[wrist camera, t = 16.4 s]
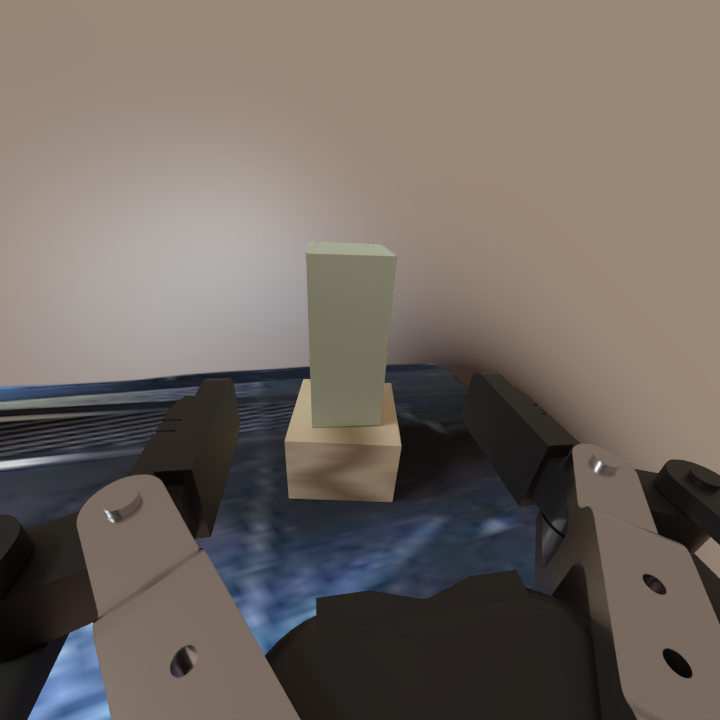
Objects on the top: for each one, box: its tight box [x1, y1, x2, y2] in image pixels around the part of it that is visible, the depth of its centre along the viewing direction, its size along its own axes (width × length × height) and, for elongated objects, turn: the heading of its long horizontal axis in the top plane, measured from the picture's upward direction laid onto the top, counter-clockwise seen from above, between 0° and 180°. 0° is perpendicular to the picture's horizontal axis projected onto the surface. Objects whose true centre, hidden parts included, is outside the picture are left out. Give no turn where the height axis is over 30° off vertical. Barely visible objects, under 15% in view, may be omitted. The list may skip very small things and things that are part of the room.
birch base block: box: [285, 379, 401, 502], centre depth 26 cm, size 8×8×6 cm
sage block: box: [306, 242, 397, 427], centre depth 22 cm, size 5×5×12 cm
